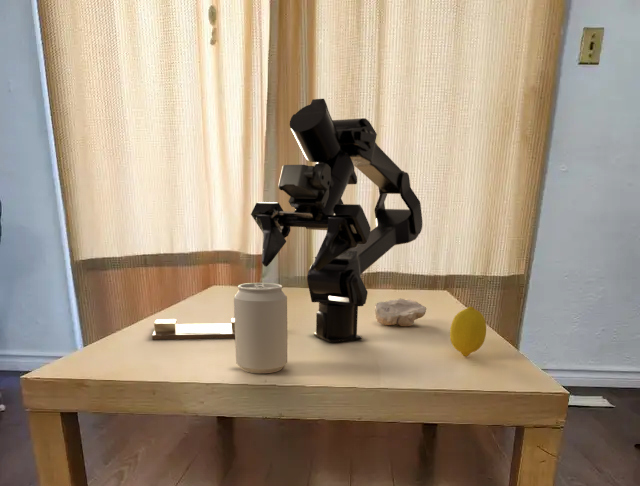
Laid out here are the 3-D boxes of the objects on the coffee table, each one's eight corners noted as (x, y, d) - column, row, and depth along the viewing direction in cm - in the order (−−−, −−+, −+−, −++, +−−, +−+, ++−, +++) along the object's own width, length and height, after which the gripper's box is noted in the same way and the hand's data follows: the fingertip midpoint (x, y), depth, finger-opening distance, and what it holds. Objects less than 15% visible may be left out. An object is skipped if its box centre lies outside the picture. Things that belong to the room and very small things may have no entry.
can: (240, 376, 80) (236, 288, 76) (232, 362, 87) (229, 281, 82) (292, 373, 82) (292, 287, 77) (281, 359, 89) (281, 280, 84)
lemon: (490, 358, 91) (496, 308, 89) (464, 362, 89) (470, 310, 86) (466, 350, 96) (471, 302, 93) (440, 354, 93) (445, 304, 90)
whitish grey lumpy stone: (434, 312, 112) (392, 293, 108) (418, 342, 114) (376, 324, 110) (416, 300, 120) (376, 282, 116) (402, 329, 122) (362, 312, 118)
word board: (274, 326, 111) (274, 314, 110) (279, 337, 103) (278, 324, 102) (157, 328, 108) (156, 316, 107) (152, 339, 100) (151, 326, 99)
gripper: (255, 145, 88) (212, 227, 84) (364, 141, 79) (322, 232, 75) (285, 199, 97) (249, 275, 93) (386, 201, 88) (350, 285, 84)
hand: (289, 266), depth 86 cm, fingers open, 9 cm apart
